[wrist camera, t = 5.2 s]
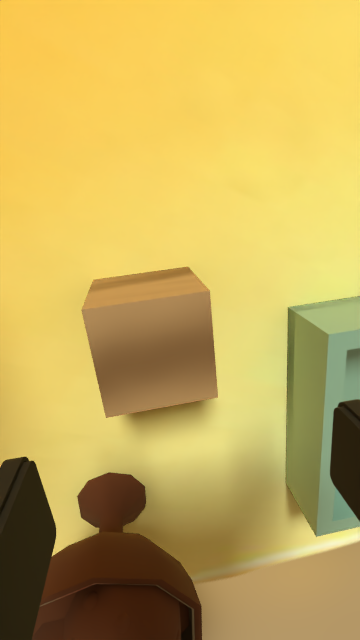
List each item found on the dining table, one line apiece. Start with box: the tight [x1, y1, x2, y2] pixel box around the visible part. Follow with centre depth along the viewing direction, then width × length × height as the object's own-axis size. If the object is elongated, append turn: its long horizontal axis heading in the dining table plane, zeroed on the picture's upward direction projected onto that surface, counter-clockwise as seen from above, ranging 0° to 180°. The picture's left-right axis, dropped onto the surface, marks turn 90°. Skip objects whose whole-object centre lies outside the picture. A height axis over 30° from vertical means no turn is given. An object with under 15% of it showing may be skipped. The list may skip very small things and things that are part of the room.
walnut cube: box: [82, 267, 218, 418], centre depth 19 cm, size 6×6×6 cm
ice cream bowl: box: [32, 473, 202, 640], centre depth 20 cm, size 11×11×15 cm
